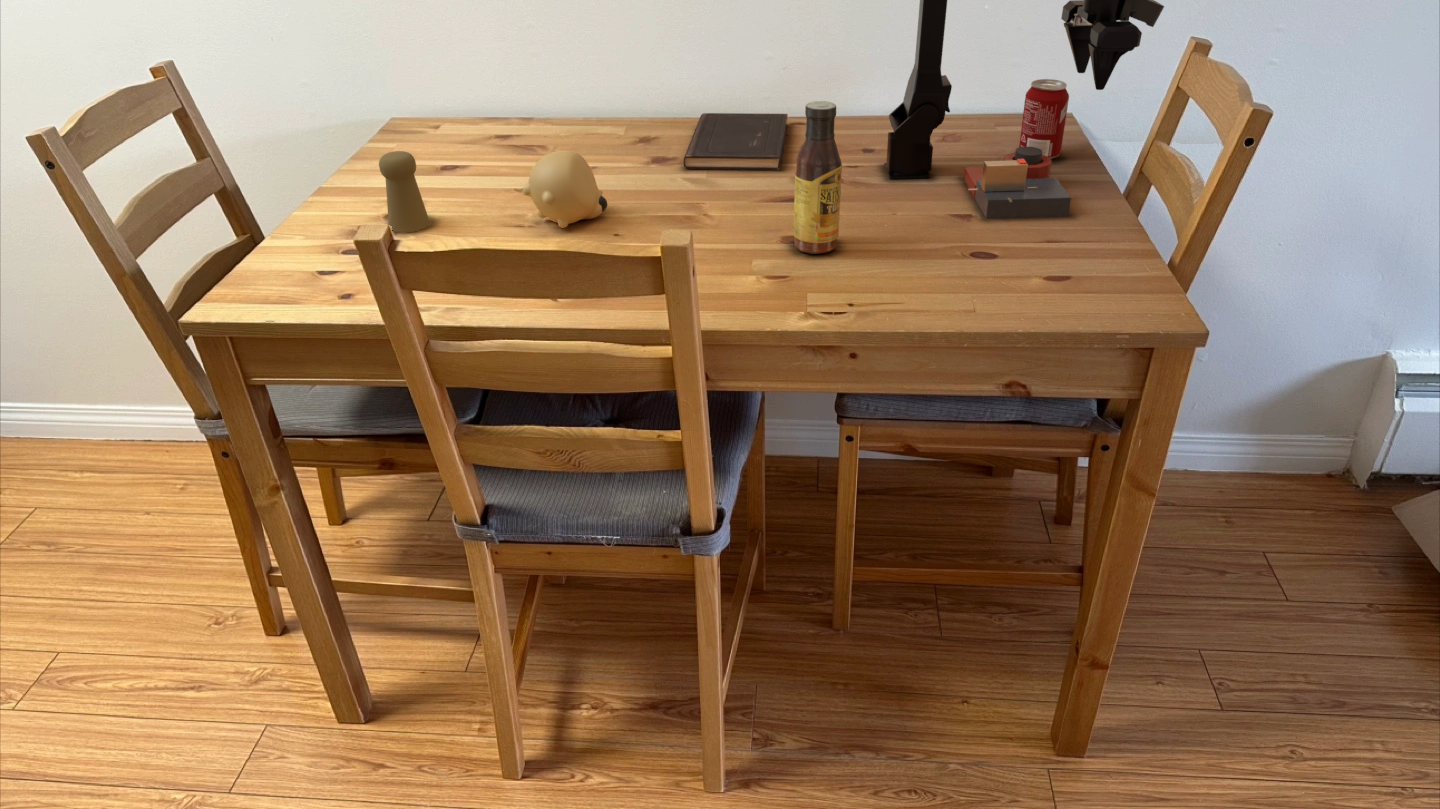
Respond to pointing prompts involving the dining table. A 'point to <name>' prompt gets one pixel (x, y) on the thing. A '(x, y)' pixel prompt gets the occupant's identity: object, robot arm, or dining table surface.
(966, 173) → the button box
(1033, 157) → the button
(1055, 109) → the soda can
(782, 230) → the dining table surface
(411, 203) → the brown game pawn
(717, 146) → the hardcover book
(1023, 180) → the tan and red box
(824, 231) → the sauce bottle
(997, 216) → the dark grey panel
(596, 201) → the tan rounded figure
